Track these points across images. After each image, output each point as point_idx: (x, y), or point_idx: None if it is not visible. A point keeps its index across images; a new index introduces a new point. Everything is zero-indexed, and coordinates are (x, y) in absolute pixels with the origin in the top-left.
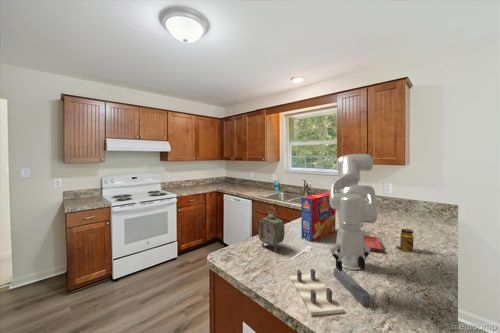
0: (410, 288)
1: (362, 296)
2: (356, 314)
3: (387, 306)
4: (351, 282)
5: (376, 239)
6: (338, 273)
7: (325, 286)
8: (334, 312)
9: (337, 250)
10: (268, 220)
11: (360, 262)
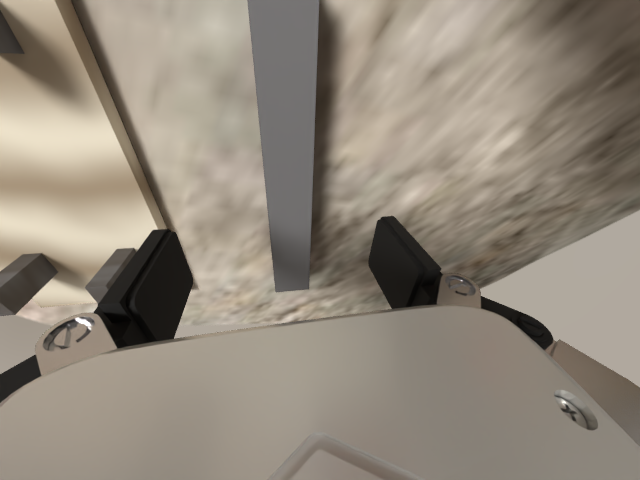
0: (526, 199)
1: (275, 288)
2: (230, 291)
3: (353, 268)
4: (282, 210)
5: None
6: (254, 63)
7: (122, 156)
8: None
9: (46, 383)
10: None
11: (391, 275)
